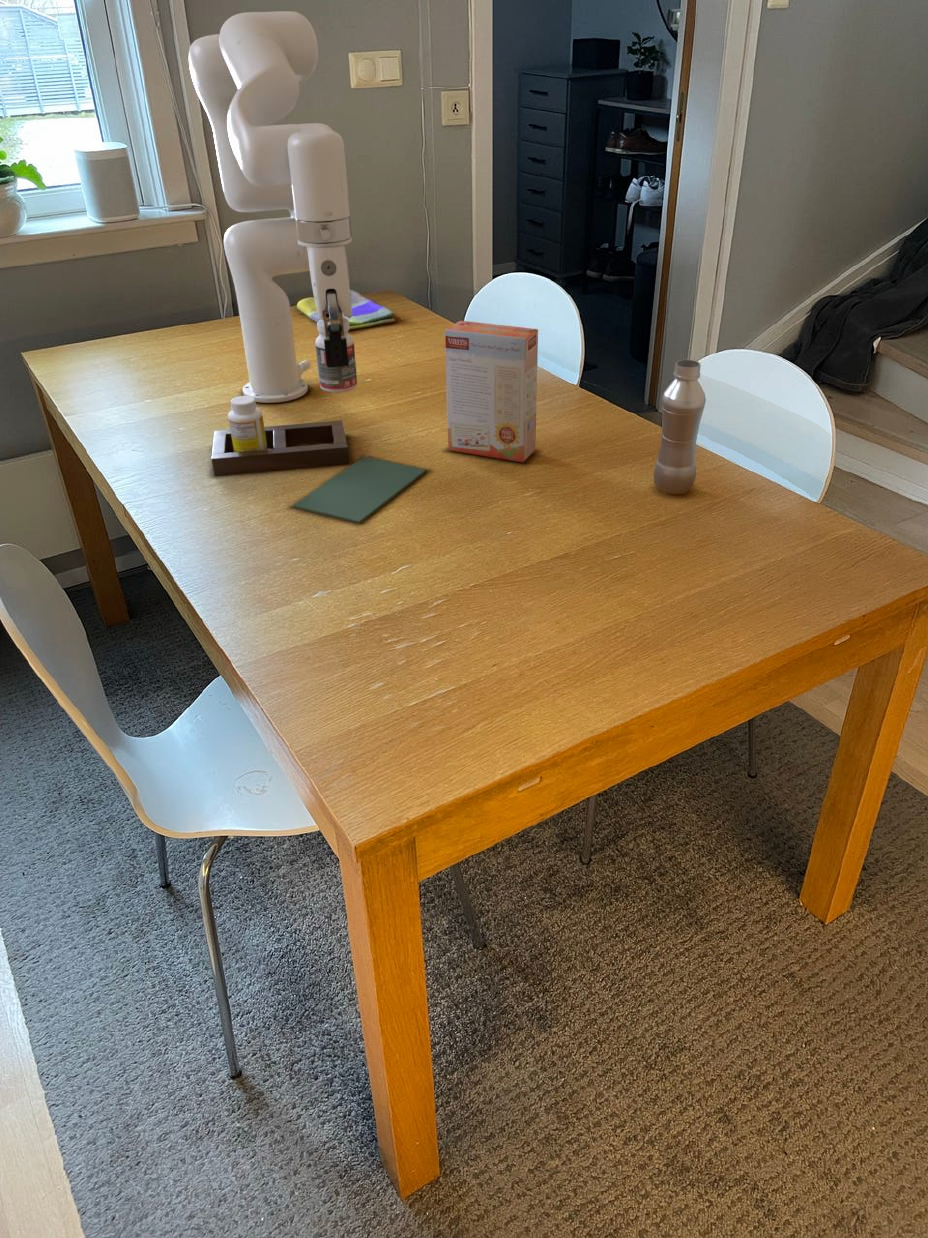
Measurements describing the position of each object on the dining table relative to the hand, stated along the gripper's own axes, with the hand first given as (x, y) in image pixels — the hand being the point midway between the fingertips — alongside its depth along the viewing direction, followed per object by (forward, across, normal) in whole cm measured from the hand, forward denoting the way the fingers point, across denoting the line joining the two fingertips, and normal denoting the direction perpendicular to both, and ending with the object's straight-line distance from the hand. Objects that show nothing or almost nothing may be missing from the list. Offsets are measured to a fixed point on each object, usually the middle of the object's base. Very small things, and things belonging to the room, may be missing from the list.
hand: (336, 357), depth 139 cm
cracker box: (+20, +6, -25) cm, 32 cm away
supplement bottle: (+20, +12, +15) cm, 28 cm away
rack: (+20, +12, +10) cm, 25 cm away
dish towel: (+20, +92, -6) cm, 95 cm away
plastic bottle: (+20, -15, -50) cm, 55 cm away
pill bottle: (+5, 0, 0) cm, 5 cm away
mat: (+20, -4, -2) cm, 20 cm away
